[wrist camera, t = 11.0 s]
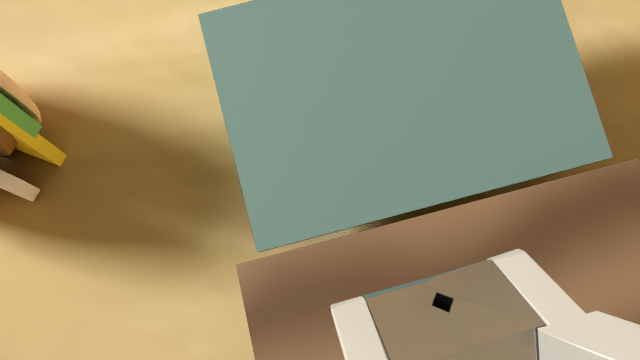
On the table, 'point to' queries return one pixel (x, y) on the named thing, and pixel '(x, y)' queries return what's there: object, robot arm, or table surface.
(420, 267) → the wooden l-shaped block
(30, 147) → the hamburger
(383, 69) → the grey-green flat slab
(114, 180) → the table surface
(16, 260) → the table surface
